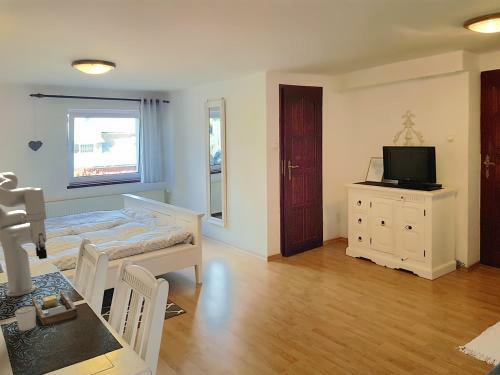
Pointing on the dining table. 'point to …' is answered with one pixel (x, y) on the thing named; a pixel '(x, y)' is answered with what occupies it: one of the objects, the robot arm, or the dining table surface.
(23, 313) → the white cylinder
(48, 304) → the yellow square block
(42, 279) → the dining table surface
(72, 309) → the brown wooden tray
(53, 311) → the counterweight
